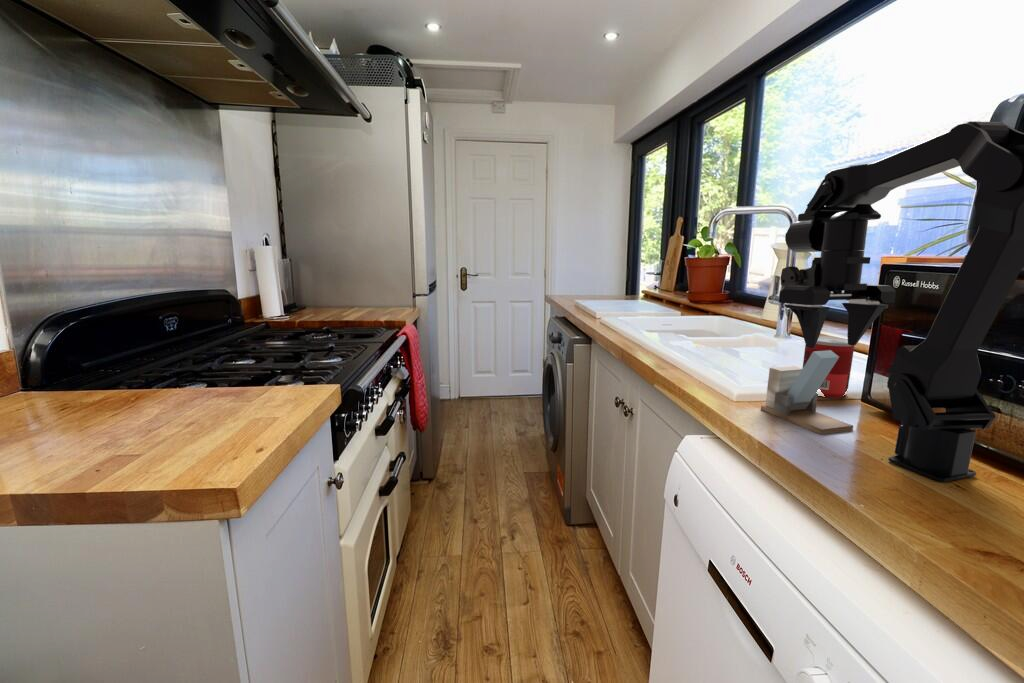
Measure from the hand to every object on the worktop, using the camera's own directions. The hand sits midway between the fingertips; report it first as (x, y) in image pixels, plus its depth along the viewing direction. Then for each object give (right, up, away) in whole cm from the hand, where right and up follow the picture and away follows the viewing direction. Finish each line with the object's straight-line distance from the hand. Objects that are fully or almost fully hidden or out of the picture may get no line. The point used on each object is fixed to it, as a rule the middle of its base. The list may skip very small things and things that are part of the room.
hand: (831, 346), depth 77 cm
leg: (-4, -10, +3) cm, 11 cm away
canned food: (+10, -10, +17) cm, 21 cm away
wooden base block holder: (-4, -12, +1) cm, 13 cm away
